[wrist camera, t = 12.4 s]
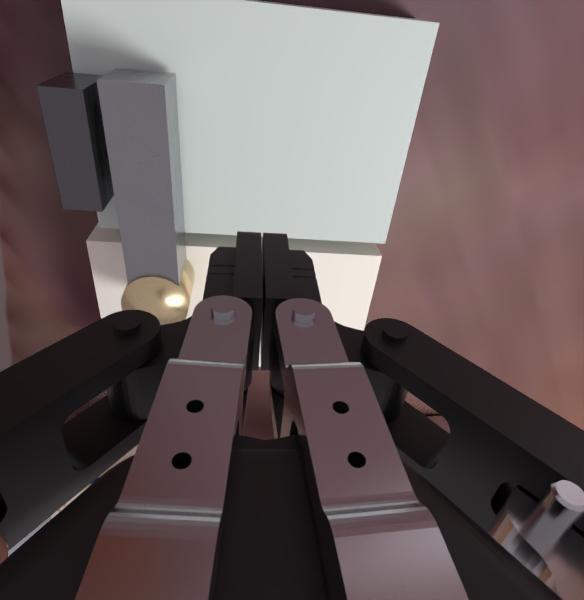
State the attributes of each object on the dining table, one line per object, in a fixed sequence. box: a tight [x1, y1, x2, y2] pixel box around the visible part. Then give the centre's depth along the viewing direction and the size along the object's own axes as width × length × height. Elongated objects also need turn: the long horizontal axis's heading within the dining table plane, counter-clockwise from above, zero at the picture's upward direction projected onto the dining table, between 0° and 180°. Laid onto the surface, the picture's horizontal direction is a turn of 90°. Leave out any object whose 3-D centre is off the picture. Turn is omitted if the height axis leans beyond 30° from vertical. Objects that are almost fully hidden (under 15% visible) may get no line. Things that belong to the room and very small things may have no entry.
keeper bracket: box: [36, 72, 114, 212], centre depth 23 cm, size 2×6×4 cm, turn 174°
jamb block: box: [86, 222, 382, 367], centre depth 35 cm, size 20×11×4 cm, turn 84°
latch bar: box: [96, 68, 195, 325], centre depth 25 cm, size 14×4×4 cm, turn 175°
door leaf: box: [61, 0, 439, 243], centre depth 27 cm, size 19×13×4 cm
